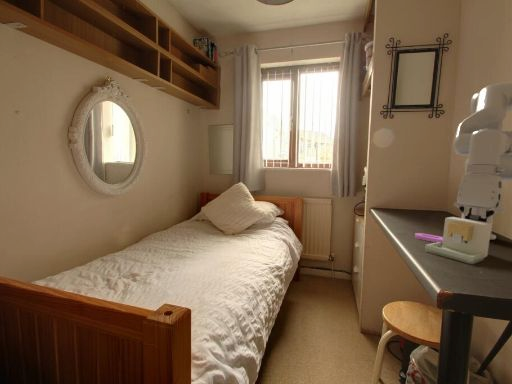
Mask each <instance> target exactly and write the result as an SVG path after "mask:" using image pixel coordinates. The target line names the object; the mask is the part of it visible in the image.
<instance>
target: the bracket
mask: <svg viewBox="0 0 512 384" xmlns="http://www.w3.org/2000/svg"><path fill="white" fill-rule="evenodd" d="M414 238H415V239H417V240H420V239H421V241H425V240H426V242H430V241H431V243H435V242H441V245H442V242H443V236H438V235H433V234H429V233H428V234H427V233H423V232H422V233H421V232H415V233H414Z"/></svg>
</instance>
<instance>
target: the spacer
mask: <svg viewBox="0 0 512 384" xmlns="http://www.w3.org/2000/svg"><path fill="white" fill-rule="evenodd" d="M473 227H474V226H473V225H468V224H462V223H457V222H451V223H449V226H448V234H447V237H452V234H457V235H461V236H463V240H465V241H468V240H472V235H473Z"/></svg>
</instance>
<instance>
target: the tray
mask: <svg viewBox="0 0 512 384" xmlns="http://www.w3.org/2000/svg"><path fill="white" fill-rule="evenodd" d="M424 252H426V253H430V254H433V255H437V256H440V257H444V258H448V259H451V260H455V261H459V262H461V263H466V264H468V265H474V264H477V263H480V262H483V261H484V260H485V258H486V257H485V253H482V252H481V253H478V254H475V255H473V254H470V253H466V252H462V251H458V250H454V249H450V248H446V247H442V244H441V242H436V243H435V242H431V243H428V244H425V247H424Z"/></svg>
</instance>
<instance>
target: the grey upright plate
mask: <svg viewBox="0 0 512 384" xmlns="http://www.w3.org/2000/svg"><path fill="white" fill-rule="evenodd" d="M478 218H480V216H479V215H470V218H469V220H475V221H478ZM452 242H456V243H460V244H462V243H466V242H468V241H465V240H463V236H461V235H457V234H452Z"/></svg>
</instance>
